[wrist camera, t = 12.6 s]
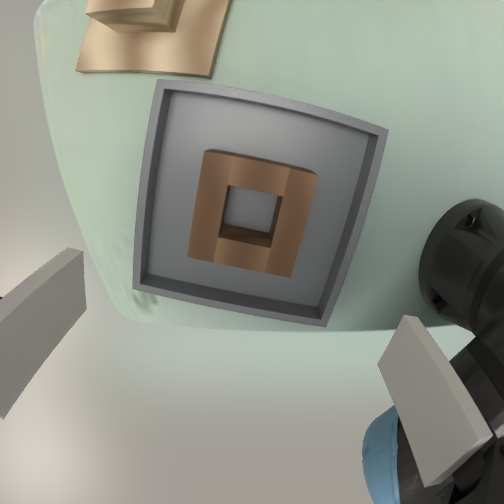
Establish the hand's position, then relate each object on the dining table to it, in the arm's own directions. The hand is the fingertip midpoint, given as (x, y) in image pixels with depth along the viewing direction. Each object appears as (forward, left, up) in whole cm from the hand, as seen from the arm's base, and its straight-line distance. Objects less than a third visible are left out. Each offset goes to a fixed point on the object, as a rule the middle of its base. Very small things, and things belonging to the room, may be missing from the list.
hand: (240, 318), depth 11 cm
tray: (0, 0, -18) cm, 18 cm away
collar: (0, 0, -18) cm, 18 cm away
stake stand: (+13, -18, -19) cm, 29 cm away
